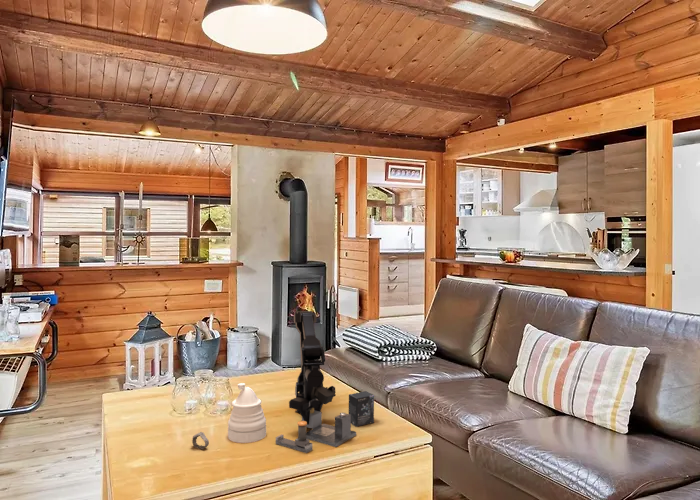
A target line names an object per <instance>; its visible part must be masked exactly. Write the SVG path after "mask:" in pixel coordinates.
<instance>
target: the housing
mask: <svg viewBox="0 0 700 500" xmlns="http://www.w3.org/2000/svg"><path fill="white" fill-rule="evenodd" d="M322 415H323V414H322V411H321V412H319V411H315V410H314V408H312V409H311V410H310V416H309V424H308V425H306V428H309V429H311V430H312V429H314V428H316V427H318V426H320V425H322V424H323V423H322V420H323V419H322ZM301 421H304V420H303V418H302V417H301Z"/></svg>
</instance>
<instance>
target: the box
mask: <svg viewBox="0 0 700 500" xmlns="http://www.w3.org/2000/svg"><path fill="white" fill-rule="evenodd" d="M348 414H350V415H351V426H354V427H355V428H357V427H361V426H366V425H369V424H370V425H371V424H374V423H375V421H374V420H375V395H374V394H373V393H372V392H368V391H366V390H365V391H359V392H355V393H354V392H353V393H350V394H348Z"/></svg>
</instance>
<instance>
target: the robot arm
mask: <svg viewBox="0 0 700 500" xmlns="http://www.w3.org/2000/svg"><path fill="white" fill-rule="evenodd" d="M293 322H294V324H295V329H296V330H297V332H298V333H299V341H300V342H299V344H300V345H299V348H300V372H299V374H298V376H297V378H296V379H297V381H296V382H295V391H294V392H295V393H294V395H295V397H294V398H292V399H290V400H289V401H288V408H289V409H294V410H295V411H294V412H295V413H298V414H300V415H301V419H302V418H303V420H304V421H306V422H307V425H308V424H309V416H310V410H311V409H312V408H314V410H315V411H319V412H322V408H323V406H324V405H327V404H329V403H331V402H333V399H334V397H336V391H337V390H336V387H335V386H334V385H331V386H329V387H328V386H324V380H325V377H324V373H323V371H322V370H321V366H324V365H325V362H326V354H325V353H326V352H325V348H324V346H322V345H321V340H319V338H317V336H316V335H317V334H316V330H315V323H317V313H316V312H313V310H302V311H301V310H299V311H296V313H294V314H293Z"/></svg>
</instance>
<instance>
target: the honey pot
mask: <svg viewBox="0 0 700 500" xmlns="http://www.w3.org/2000/svg"><path fill="white" fill-rule="evenodd" d="M237 388H238V389H239V390H240V392H239V394H238V395H237V396H236V398H235V399H234V400H232V401H231V406H232V410H231V411H230V415H229V419H228V422H227V439H228V440H230V442H232V443H238V444H248V443H255V442H259V441H261V440H263V439H265V437H266V436H267V419H266V417H265V413H264V409H263V407H262V400H261V399H260V398H258V395H257V394H256V392H255V391H254V390H253V389H252V388H251V387H249V386H246V383H244V382H240V383H238V384H237Z"/></svg>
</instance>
